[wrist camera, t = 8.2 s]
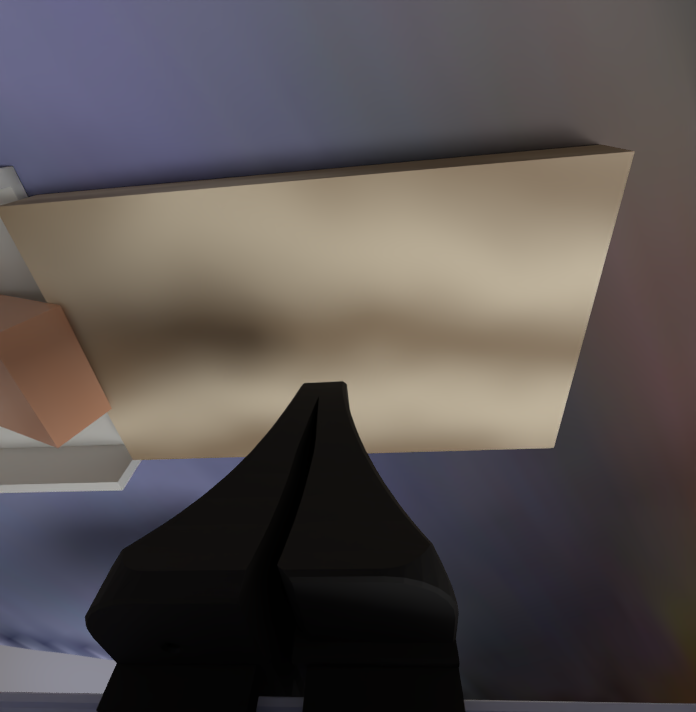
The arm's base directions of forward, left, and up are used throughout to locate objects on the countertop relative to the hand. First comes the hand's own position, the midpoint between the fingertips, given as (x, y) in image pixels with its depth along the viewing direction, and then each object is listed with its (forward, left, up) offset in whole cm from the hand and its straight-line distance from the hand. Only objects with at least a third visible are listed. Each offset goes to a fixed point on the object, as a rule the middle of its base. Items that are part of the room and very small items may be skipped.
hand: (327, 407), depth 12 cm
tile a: (0, +12, -4) cm, 13 cm away
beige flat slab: (0, +1, -6) cm, 6 cm away
